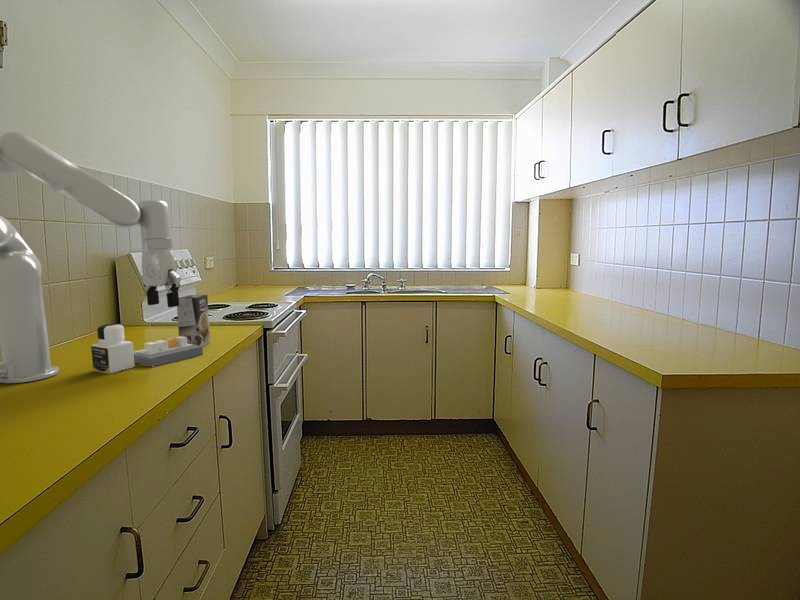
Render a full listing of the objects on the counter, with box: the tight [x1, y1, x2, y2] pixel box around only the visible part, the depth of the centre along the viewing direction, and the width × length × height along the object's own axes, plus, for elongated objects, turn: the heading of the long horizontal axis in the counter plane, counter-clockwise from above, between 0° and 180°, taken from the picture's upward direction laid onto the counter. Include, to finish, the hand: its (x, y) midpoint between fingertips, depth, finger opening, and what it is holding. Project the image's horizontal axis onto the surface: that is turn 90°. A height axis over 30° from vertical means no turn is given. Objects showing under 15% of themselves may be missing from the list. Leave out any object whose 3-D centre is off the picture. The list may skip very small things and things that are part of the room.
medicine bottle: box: [90, 323, 136, 375], centre depth 130 cm, size 7×7×12 cm
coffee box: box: [176, 294, 211, 348], centre depth 156 cm, size 9×6×16 cm
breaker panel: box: [133, 335, 204, 368], centre depth 142 cm, size 16×12×5 cm
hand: (163, 305), depth 140 cm, fingers open, 9 cm apart
